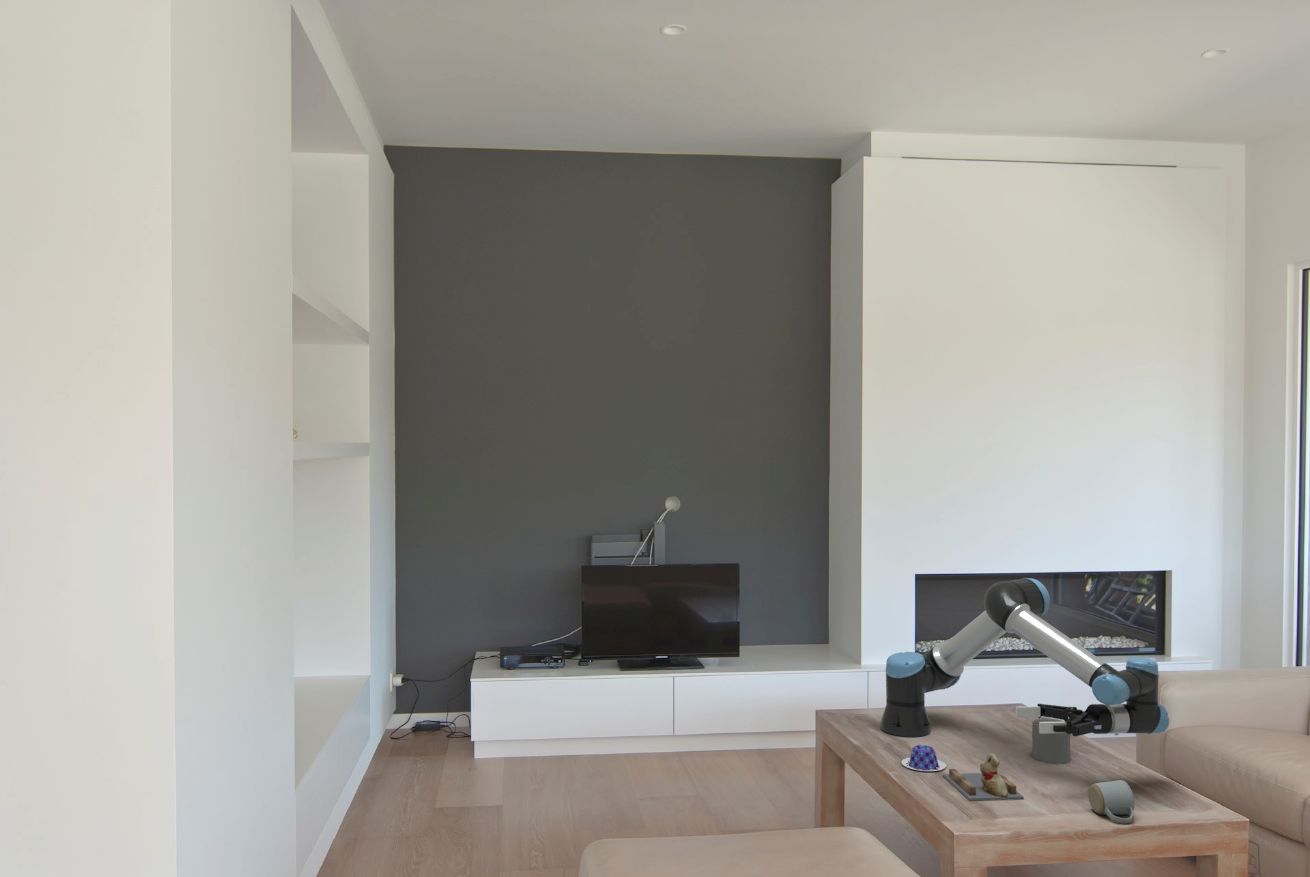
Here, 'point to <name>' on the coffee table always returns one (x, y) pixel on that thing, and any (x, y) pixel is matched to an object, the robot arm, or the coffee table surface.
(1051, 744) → the coffee mug
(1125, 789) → the ceramic mug
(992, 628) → the robot arm
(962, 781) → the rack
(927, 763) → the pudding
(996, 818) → the coffee table surface
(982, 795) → the mat
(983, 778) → the chocolate bunny
